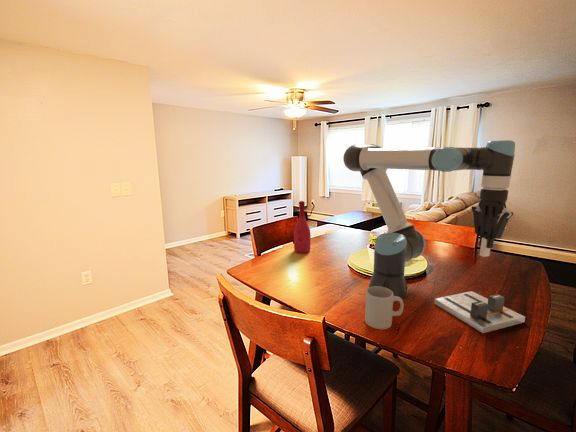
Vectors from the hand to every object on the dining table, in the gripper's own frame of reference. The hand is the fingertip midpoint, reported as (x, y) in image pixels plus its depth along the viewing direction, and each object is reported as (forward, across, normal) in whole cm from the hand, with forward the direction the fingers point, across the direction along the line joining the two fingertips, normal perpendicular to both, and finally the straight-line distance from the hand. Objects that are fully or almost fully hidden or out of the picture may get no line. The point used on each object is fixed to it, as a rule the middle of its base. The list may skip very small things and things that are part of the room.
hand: (484, 255), depth 97 cm
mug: (+20, +2, +38) cm, 43 cm away
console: (+19, -3, +4) cm, 20 cm away
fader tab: (+17, -6, 0) cm, 18 cm away
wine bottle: (+21, +80, +38) cm, 91 cm away
